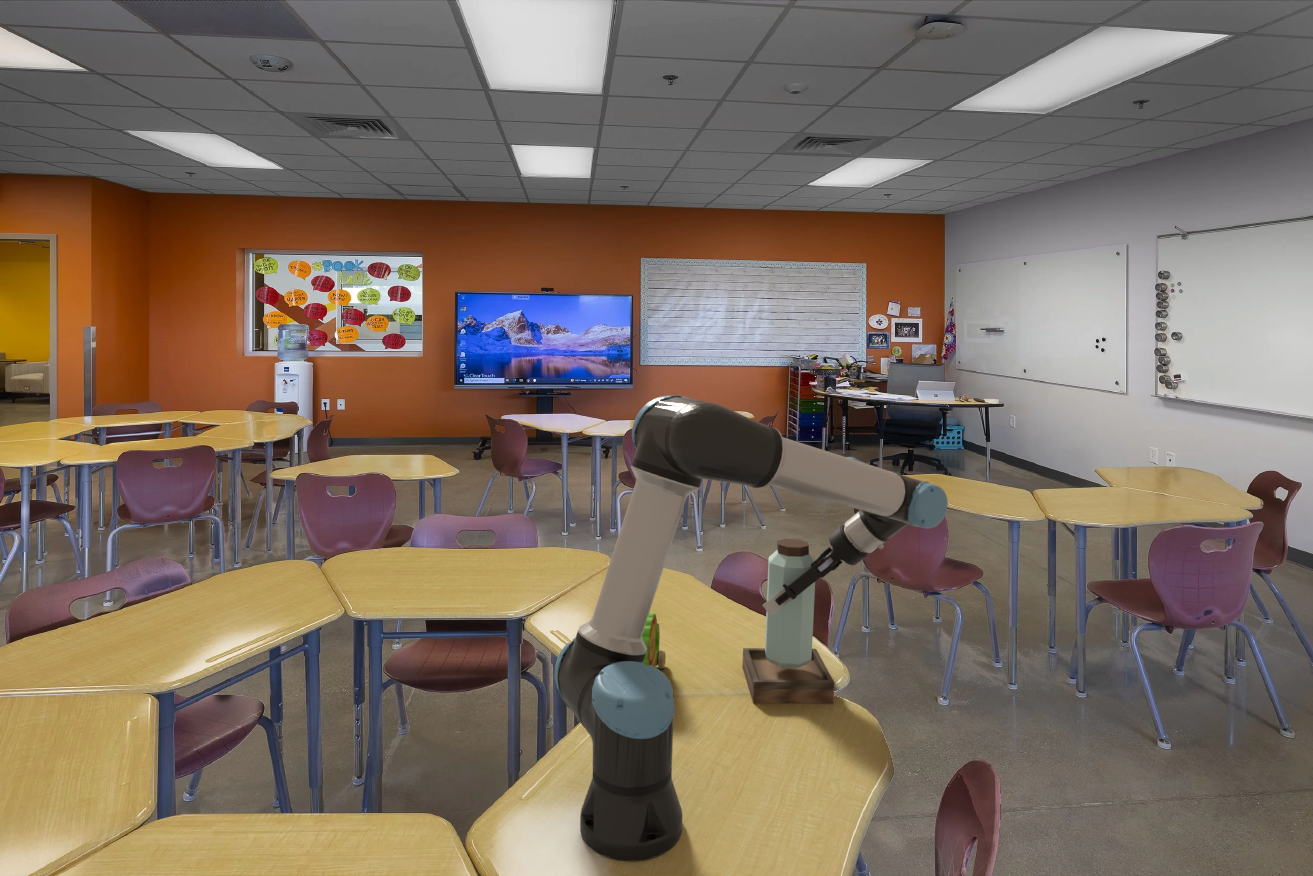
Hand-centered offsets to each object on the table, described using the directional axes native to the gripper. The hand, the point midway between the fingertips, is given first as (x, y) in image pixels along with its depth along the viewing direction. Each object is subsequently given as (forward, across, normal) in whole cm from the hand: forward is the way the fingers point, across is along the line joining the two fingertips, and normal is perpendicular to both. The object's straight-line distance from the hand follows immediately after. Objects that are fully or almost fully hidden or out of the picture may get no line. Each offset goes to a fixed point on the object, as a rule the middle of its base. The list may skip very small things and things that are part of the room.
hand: (775, 602), depth 160 cm
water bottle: (+6, 0, -11) cm, 13 cm away
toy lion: (+29, -12, +4) cm, 32 cm away
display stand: (+10, 0, -14) cm, 18 cm away
